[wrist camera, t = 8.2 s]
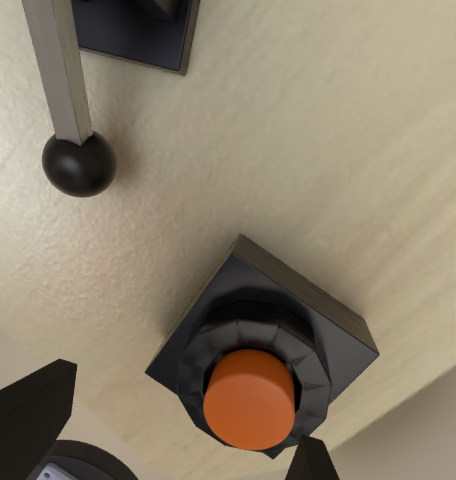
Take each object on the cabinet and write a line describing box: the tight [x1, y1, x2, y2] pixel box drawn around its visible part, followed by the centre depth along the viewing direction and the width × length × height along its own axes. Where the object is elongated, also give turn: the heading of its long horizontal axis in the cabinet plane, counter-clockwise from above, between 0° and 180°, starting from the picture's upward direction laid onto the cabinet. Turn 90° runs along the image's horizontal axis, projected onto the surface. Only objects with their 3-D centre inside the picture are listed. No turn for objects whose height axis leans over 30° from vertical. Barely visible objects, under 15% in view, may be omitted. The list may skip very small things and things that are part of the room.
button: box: [203, 349, 295, 450], centre depth 15 cm, size 4×4×2 cm
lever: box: [22, 0, 117, 197], centre depth 12 cm, size 13×3×3 cm, turn 166°
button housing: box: [145, 234, 380, 459], centre depth 18 cm, size 8×8×5 cm
